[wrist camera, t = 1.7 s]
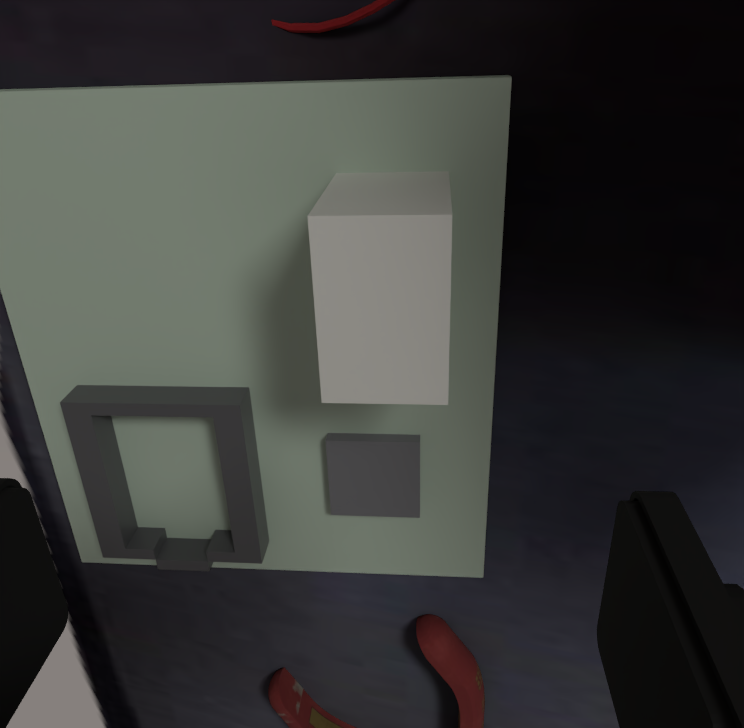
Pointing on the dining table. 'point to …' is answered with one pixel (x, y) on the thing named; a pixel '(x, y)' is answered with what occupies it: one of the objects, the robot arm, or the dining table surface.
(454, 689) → the pliers
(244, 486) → the frame
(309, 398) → the board
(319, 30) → the digital clamp meter
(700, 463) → the dining table surface
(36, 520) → the robot arm
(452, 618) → the dining table surface
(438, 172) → the plug
